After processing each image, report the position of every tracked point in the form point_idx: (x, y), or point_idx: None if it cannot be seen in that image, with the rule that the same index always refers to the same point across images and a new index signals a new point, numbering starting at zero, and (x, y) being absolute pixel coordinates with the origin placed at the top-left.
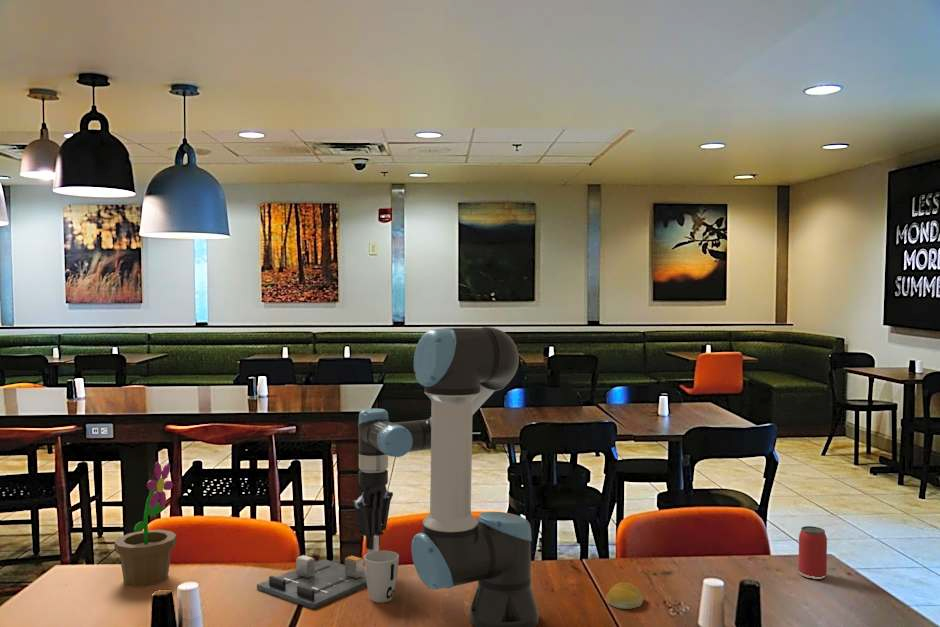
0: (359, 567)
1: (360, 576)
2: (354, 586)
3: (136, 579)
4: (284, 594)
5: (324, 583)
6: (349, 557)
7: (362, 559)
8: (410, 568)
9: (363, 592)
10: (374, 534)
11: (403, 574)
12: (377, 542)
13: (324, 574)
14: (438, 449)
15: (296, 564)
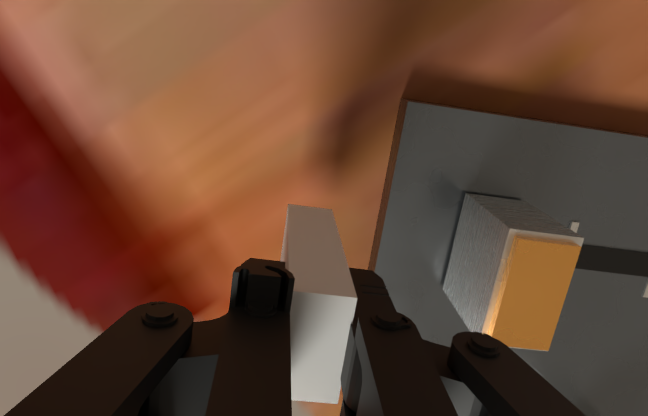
0: (527, 216)
1: (489, 196)
2: (636, 136)
3: None
4: None
5: (646, 315)
6: (533, 333)
7: (510, 234)
8: (103, 29)
9: (611, 73)
10: (360, 320)
11: (230, 10)
12: (311, 262)
13: None
14: None
15: None
